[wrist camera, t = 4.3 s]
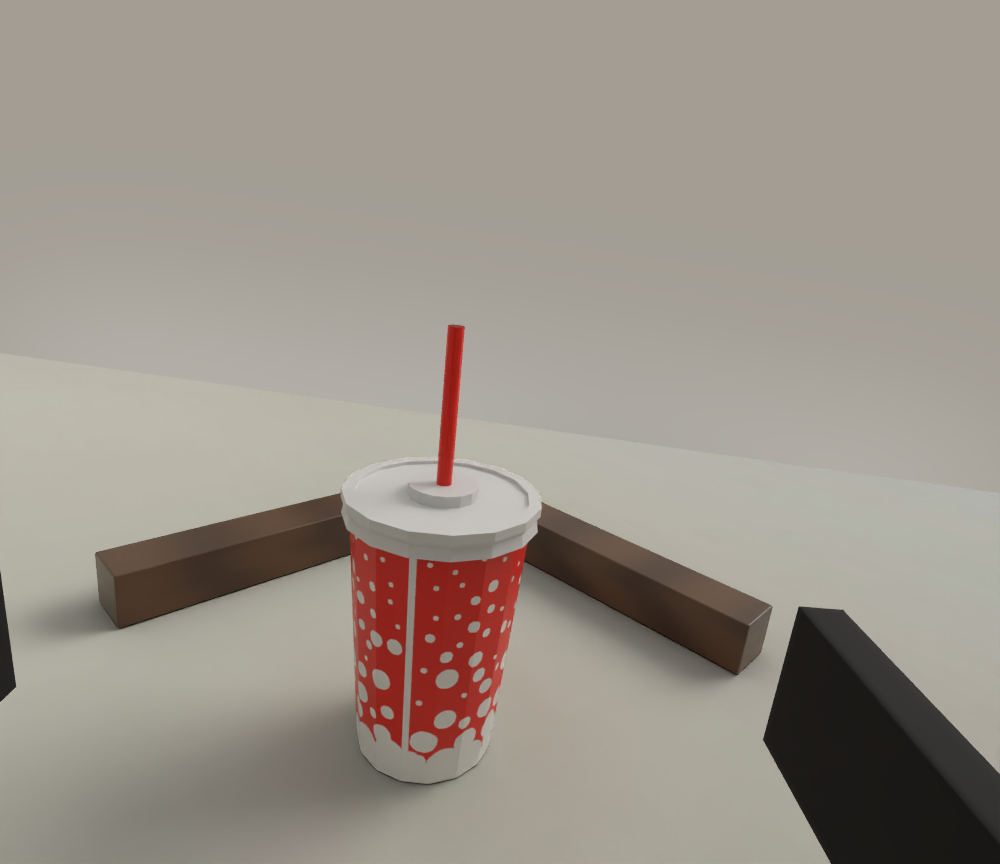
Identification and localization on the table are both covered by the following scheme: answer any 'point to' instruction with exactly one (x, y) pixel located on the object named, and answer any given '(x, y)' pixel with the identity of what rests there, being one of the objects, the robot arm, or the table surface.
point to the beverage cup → (433, 597)
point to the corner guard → (323, 537)
